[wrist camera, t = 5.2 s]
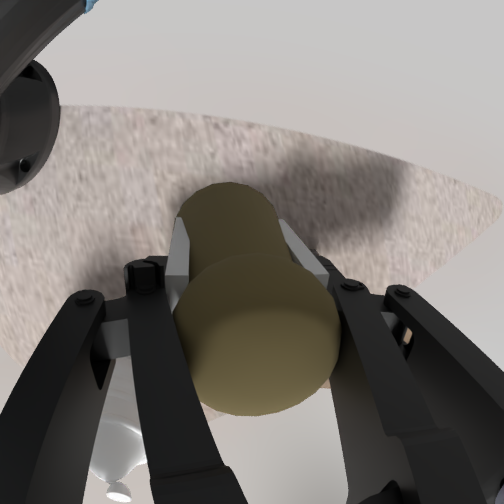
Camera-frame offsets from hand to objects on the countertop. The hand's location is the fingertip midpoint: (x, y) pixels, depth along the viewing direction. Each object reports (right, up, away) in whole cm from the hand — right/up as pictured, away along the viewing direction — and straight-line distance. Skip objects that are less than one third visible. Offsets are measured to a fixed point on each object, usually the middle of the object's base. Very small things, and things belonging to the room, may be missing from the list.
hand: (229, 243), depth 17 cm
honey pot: (-16, -16, +22) cm, 31 cm away
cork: (0, +1, +1) cm, 1 cm away
